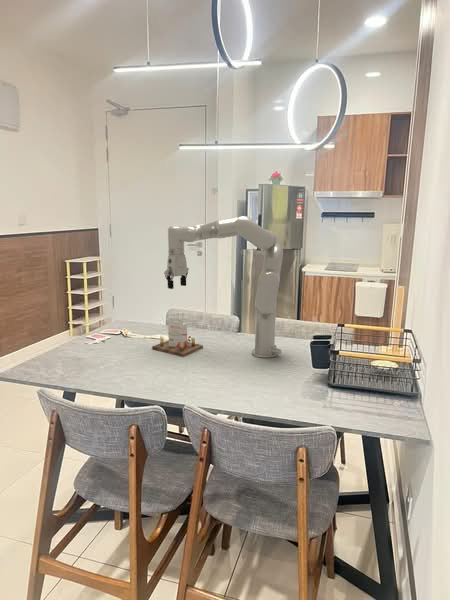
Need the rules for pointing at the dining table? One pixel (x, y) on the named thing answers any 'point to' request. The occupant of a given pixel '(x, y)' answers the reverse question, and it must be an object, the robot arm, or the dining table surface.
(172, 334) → the ink cartridge box
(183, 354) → the walnut plate
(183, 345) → the brass pins
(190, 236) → the robot arm
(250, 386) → the dining table surface
